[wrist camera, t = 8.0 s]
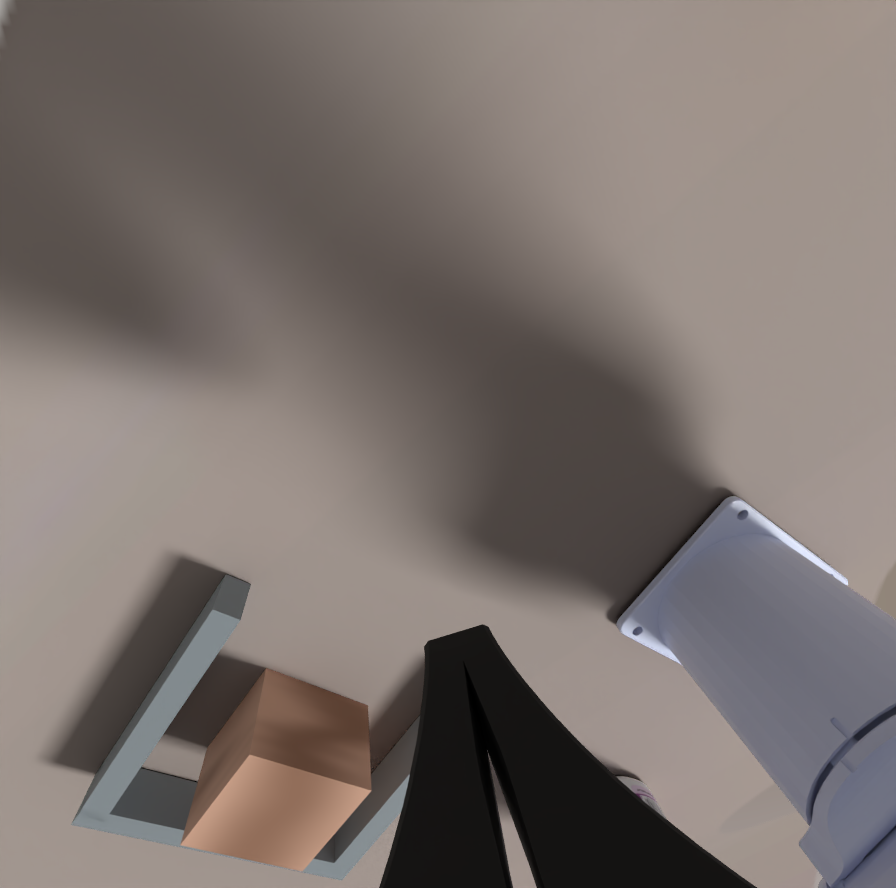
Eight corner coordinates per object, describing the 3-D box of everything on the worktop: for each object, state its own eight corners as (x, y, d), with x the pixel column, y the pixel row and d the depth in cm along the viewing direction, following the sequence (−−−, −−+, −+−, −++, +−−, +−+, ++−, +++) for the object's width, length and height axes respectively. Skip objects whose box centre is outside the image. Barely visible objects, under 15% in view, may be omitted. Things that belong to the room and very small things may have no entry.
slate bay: (474, 676, 23) (484, 714, 21) (342, 834, 25) (341, 880, 24) (225, 573, 19) (212, 609, 17) (95, 774, 21) (71, 824, 19)
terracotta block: (367, 702, 23) (371, 790, 19) (309, 775, 24) (302, 871, 20) (266, 665, 21) (249, 754, 17) (208, 745, 22) (180, 845, 18)
